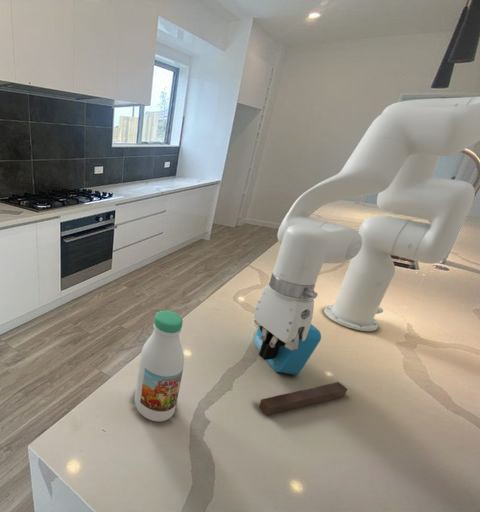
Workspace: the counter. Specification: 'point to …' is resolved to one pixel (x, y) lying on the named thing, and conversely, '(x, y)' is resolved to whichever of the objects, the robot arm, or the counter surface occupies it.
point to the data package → (292, 352)
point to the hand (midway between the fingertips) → (266, 357)
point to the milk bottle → (160, 369)
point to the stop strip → (302, 398)
